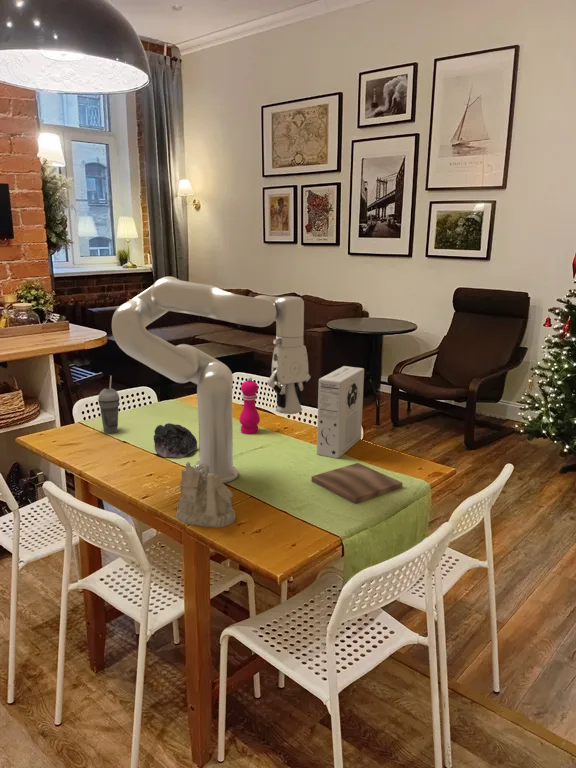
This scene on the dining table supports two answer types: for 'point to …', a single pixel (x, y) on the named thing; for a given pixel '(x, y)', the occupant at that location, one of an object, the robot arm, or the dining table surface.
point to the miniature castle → (204, 500)
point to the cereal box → (339, 411)
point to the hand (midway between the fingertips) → (289, 404)
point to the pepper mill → (249, 408)
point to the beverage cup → (109, 408)
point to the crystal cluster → (174, 441)
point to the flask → (290, 401)
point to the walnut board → (356, 482)
